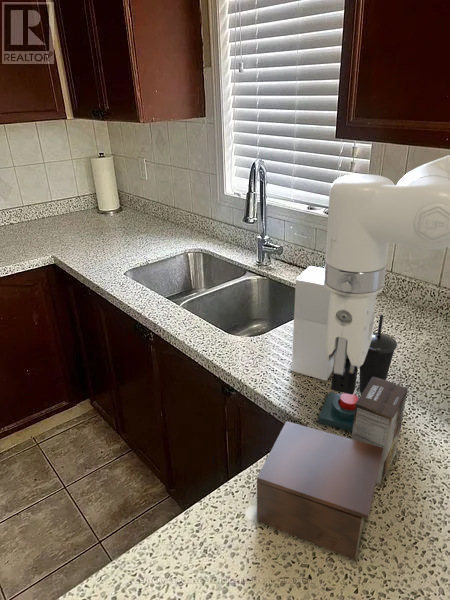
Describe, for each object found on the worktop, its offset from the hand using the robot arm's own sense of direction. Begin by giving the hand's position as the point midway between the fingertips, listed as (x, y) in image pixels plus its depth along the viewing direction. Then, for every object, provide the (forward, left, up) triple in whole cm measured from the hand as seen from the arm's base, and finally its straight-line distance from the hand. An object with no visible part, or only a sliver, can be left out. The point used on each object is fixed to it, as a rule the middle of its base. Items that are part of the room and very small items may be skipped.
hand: (343, 389), depth 66 cm
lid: (+2, +3, -13) cm, 14 cm away
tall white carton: (+13, -36, -24) cm, 45 cm away
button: (+2, -21, -20) cm, 29 cm away
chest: (+2, +3, -23) cm, 24 cm away
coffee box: (-5, -11, -24) cm, 26 cm away
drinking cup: (-1, -32, -24) cm, 39 cm away
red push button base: (+2, -21, -24) cm, 32 cm away
